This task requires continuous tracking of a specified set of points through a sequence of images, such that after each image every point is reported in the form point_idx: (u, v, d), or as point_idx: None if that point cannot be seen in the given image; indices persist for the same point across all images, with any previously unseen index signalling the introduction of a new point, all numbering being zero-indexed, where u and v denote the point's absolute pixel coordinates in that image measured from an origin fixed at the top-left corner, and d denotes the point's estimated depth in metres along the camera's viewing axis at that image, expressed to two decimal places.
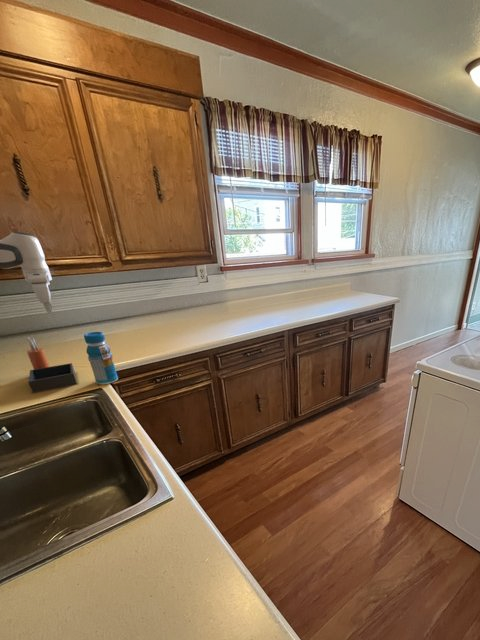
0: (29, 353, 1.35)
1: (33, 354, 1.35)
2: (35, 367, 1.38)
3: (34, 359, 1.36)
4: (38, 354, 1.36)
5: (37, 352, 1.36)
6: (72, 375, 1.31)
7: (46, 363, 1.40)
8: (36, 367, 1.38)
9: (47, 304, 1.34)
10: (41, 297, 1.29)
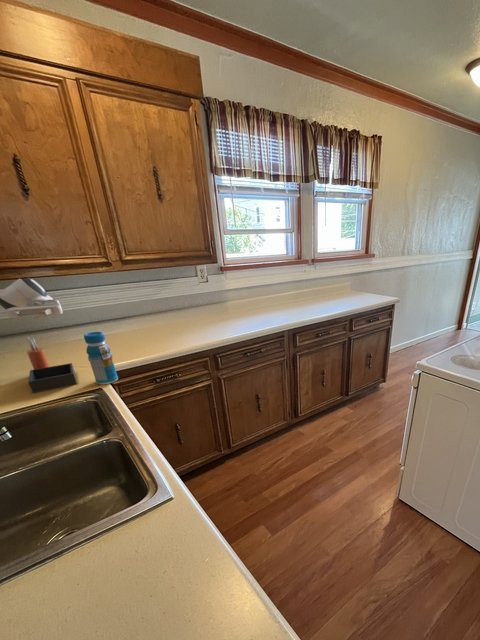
0: (29, 353, 1.35)
1: (33, 354, 1.35)
2: (35, 367, 1.38)
3: (34, 359, 1.36)
4: (38, 354, 1.36)
5: (37, 352, 1.36)
6: (72, 375, 1.31)
7: (46, 363, 1.40)
8: (36, 367, 1.38)
9: (50, 311, 1.46)
10: None
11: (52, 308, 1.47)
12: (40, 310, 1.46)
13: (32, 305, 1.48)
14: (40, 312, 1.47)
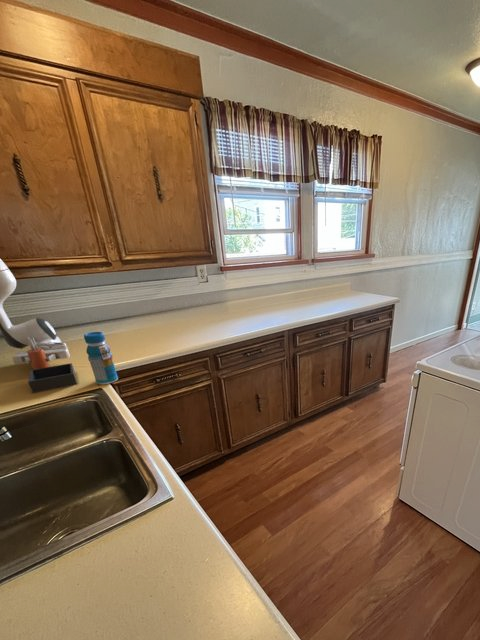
0: (29, 353, 1.35)
1: (33, 354, 1.35)
2: (35, 367, 1.38)
3: (34, 359, 1.36)
4: (38, 354, 1.36)
5: (37, 352, 1.36)
6: (72, 375, 1.31)
7: (46, 363, 1.40)
8: (36, 367, 1.38)
9: (54, 357, 1.43)
10: (68, 351, 1.47)
11: (59, 353, 1.44)
12: (47, 355, 1.43)
13: None
14: (47, 357, 1.44)
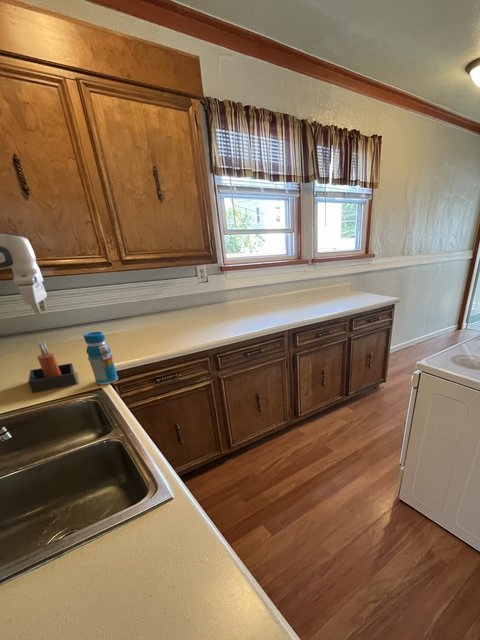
0: (40, 358, 1.27)
1: (44, 359, 1.27)
2: (46, 373, 1.30)
3: (45, 365, 1.28)
4: (49, 359, 1.28)
5: (48, 357, 1.28)
6: (72, 375, 1.31)
7: (57, 369, 1.32)
8: (47, 373, 1.30)
9: (35, 306, 1.32)
10: (26, 298, 1.27)
11: None
12: None
13: None
14: None
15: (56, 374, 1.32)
